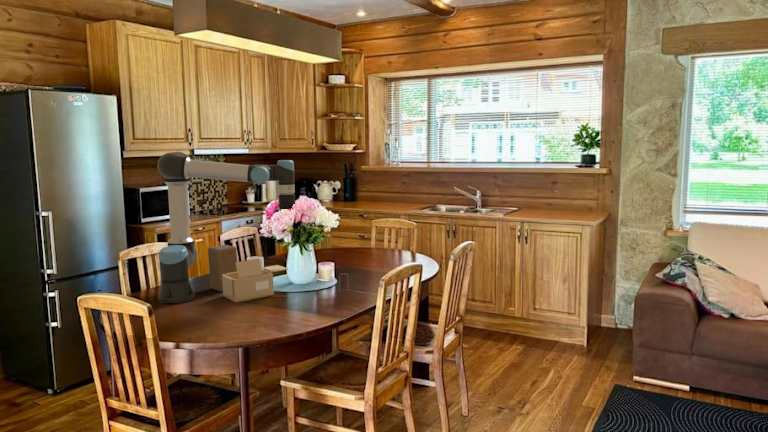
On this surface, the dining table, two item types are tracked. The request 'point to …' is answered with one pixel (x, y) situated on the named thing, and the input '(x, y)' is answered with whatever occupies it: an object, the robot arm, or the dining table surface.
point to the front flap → (249, 268)
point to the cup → (257, 258)
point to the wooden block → (221, 264)
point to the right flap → (275, 268)
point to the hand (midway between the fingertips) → (288, 243)
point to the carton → (247, 286)
